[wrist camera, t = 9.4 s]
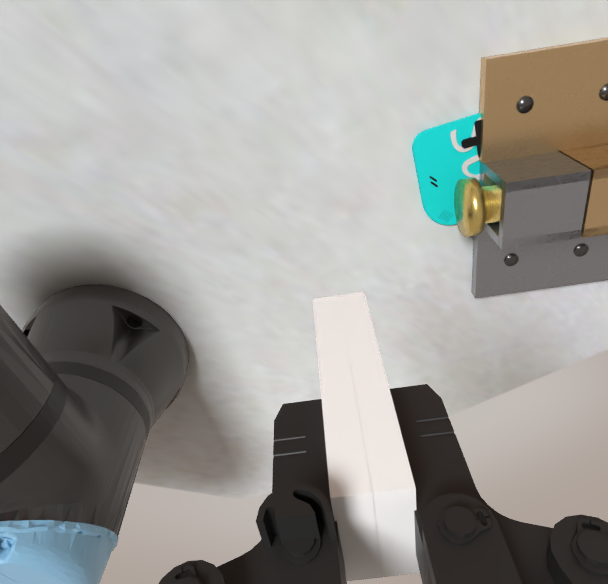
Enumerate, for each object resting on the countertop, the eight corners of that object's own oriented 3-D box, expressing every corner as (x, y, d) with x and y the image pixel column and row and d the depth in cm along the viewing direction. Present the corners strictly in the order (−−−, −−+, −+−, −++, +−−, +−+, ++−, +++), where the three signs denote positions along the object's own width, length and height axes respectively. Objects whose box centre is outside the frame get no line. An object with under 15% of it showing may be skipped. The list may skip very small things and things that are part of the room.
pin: (453, 223, 41) (470, 246, 37) (454, 171, 38) (472, 191, 35) (700, 187, 40) (743, 207, 36) (716, 132, 37) (764, 148, 34)
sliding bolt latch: (471, 292, 45) (494, 328, 40) (481, 57, 35) (513, 68, 30) (669, 264, 45) (717, 298, 40) (739, 16, 34) (816, 19, 29)
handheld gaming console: (411, 137, 37) (615, 73, 35) (408, 133, 38) (606, 71, 36) (429, 233, 41) (611, 180, 40) (426, 228, 42) (604, 176, 40)
